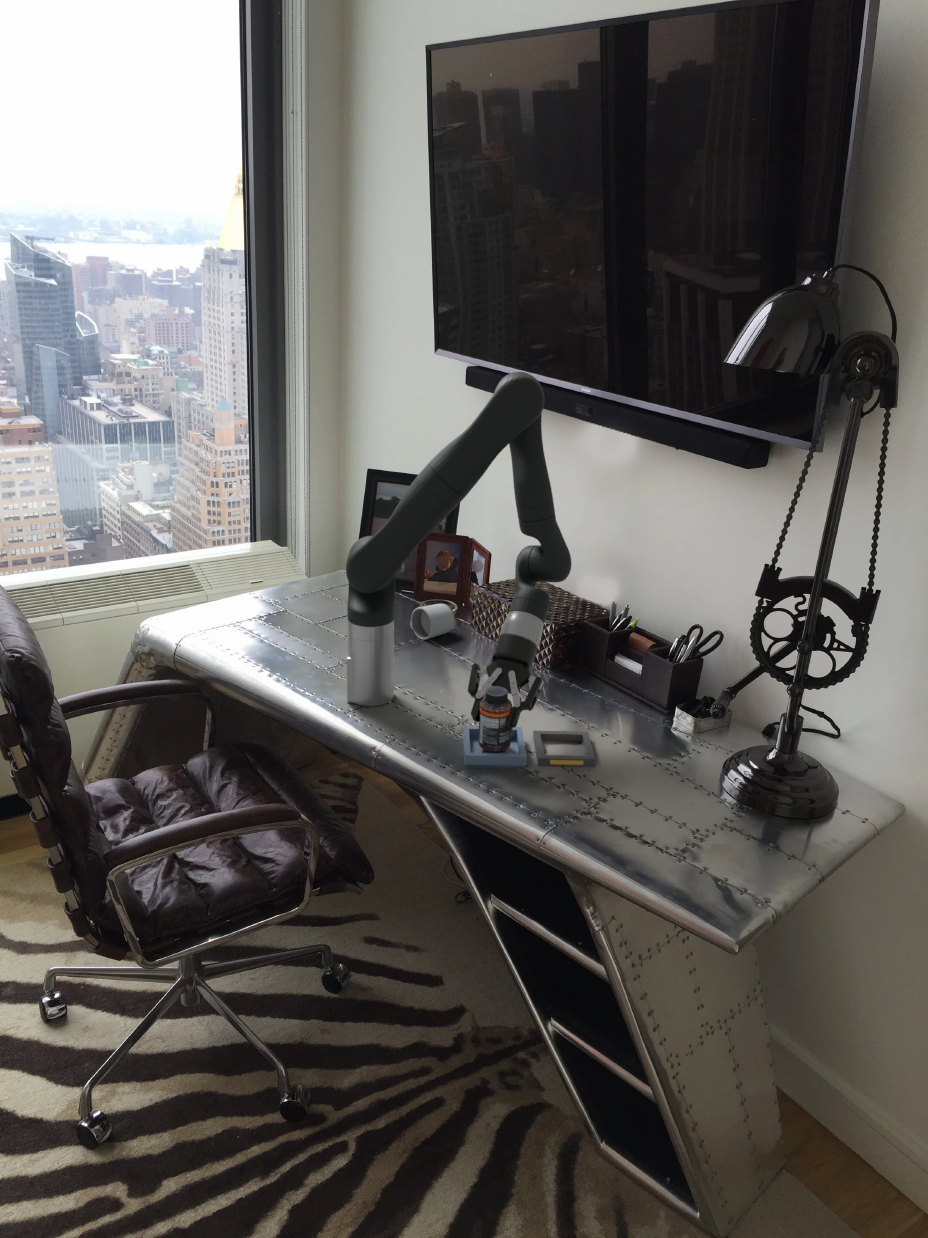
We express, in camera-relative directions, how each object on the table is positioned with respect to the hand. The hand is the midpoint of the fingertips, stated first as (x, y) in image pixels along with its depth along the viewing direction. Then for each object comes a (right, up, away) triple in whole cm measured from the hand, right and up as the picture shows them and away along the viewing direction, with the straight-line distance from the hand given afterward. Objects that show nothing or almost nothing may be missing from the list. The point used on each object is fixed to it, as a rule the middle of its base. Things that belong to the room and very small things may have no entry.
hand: (492, 724), depth 179 cm
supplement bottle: (0, -5, +4) cm, 6 cm away
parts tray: (0, -6, +4) cm, 7 cm away
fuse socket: (+13, -6, +5) cm, 15 cm away
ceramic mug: (-13, +15, +56) cm, 59 cm away
